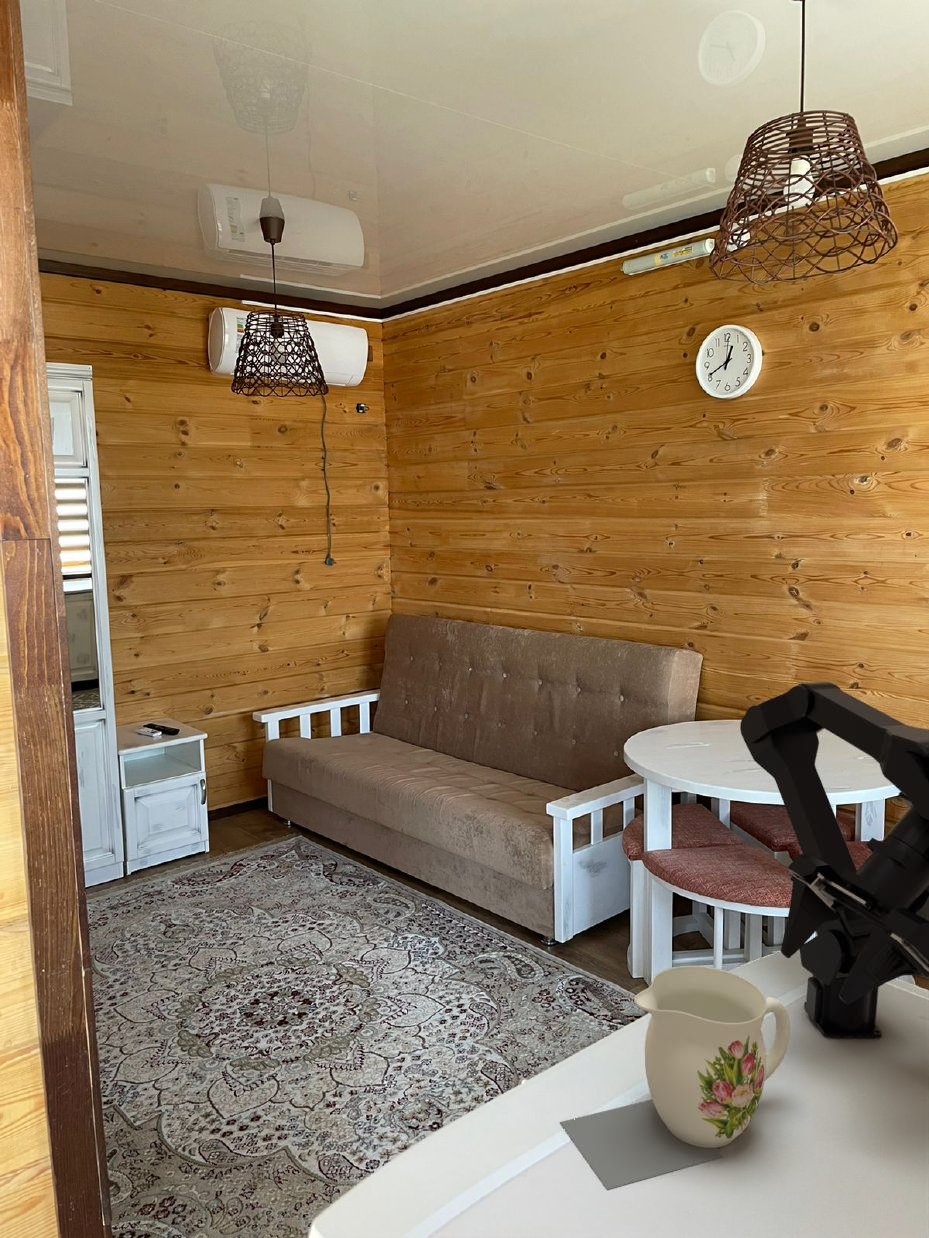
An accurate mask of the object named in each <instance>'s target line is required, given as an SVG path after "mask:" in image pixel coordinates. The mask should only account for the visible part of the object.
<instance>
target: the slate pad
mask: <svg viewBox="0 0 929 1238" xmlns="http://www.w3.org/2000/svg"><path fill="white" fill-rule="evenodd" d="M574 1119H575V1120H574ZM559 1125H560V1126H561V1127H562V1128H563V1130H564V1129H565V1130H564V1131H565V1133H566V1135H567V1136H568V1137H569V1138H570V1140H571V1141H572V1142H573V1144H574V1146H575V1147H576V1149H577V1150H578V1151H579V1153H580V1154H581V1156H582V1157H583V1158H584V1160H585V1161H586V1162H587V1164H588V1165H589V1167H590V1168H591V1170H592V1171H593V1173H594V1174H595V1176H597V1178H598V1180H599V1181H600V1183H601V1184H602V1185H603V1187H604V1188H605V1190H606V1191H610V1190H614V1189H618V1188H621V1187H625V1186H628V1185H630V1184H634V1183H638V1182H641V1181H644V1180H645V1181H646V1180H649V1179H653V1178H656V1177H659V1176H662V1175H663V1176H664V1175H667V1174H670V1173H673V1172H677V1171H681V1170H684V1169H688V1168H691V1167H695V1166H699V1165H701V1164H705V1163H709V1162H712V1161H716V1160H719V1159H722V1158H723V1159H724V1158H725V1155H724V1154H723V1153H722V1151H720V1149H718V1147H717V1148H704V1147H698V1146H694V1145H691V1144H688V1143H686V1142H684V1141H682V1140H680V1139H679V1138H677V1137H676V1136H675V1135H673V1134H672V1133H671V1132H670V1131H669V1129H668V1128H667V1126H666V1124H665V1123H664V1122H663V1120H662V1119H661V1117H660V1116H659V1114H658V1112H657V1110H656V1107H655V1105H654V1103H653V1100H652V1098H651V1099H648V1100H644V1101H640V1102H636V1103H632V1104H628V1105H624V1106H623V1105H622V1106H619V1107H615V1108H612V1109H607V1110H603V1111H600V1112H596V1113H591V1114H587V1115H583V1116H579V1117H574V1118H571V1119H567V1120H562V1121H560V1122H559Z"/></svg>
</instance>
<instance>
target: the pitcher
mask: <svg viewBox="0 0 929 1238" xmlns="http://www.w3.org/2000/svg"><path fill="white" fill-rule="evenodd" d="M633 1002H634V1004H635V1005H636V1006H637V1007H638V1008H640V1009H641V1010H642V1011H646V1012H647V1013H649V1014H650V1015H651V1017H650V1019H649V1022H648V1025H647V1029H646V1033H645V1041H644V1067H645V1074H646V1081H647V1085H648V1089H649V1093H650V1096H651V1099H652V1100H653V1103H654V1105H655V1107H656V1110H657V1112H658V1114H659V1116H660V1117H661V1119H662V1120H663V1122H664V1123H665V1124H666V1126H667V1128H668V1129H669V1131H670V1132H671V1133H672V1134H673V1135H675V1136H676V1137H677V1138H679V1139H680V1140H682V1141H684V1142H686V1143H688V1144H691V1145H694V1146H698V1147H704V1148H717V1149H718V1148H721V1147H724V1146H727V1145H729V1144H730V1143H732V1142H733V1140H735V1139H736V1138H737V1137H738V1136H739V1135H741V1134H742V1133H743V1131H745V1129H746V1128H747V1127H748V1125H749V1124H750V1122H751V1120H752V1119H753V1116H754V1115H755V1112H756V1110H757V1109H758V1106H759V1103H760V1101H761V1099H762V1098H761V1097H762V1094H763V1091H764V1085H765V1082H766V1081H767V1080H768V1079H769V1078H770V1077H772V1075H773V1074H774V1073H775V1071H776V1070H777V1069H778V1068H779V1066H780V1065H781V1063H782V1061H783V1059H784V1058H785V1056H786V1053H787V1051H788V1046H789V1042H790V1035H791V1020H790V1016H789V1012H788V1010H787V1007H786V1006H785V1005H784V1003H783V1002H781V1001H780V1000H778V999H777V998H774V997H769V996H768V997H766V996H765V994H764V992H762V990H761V989H760V988H759V987H758V986H757V985H755V983H753V982H751V981H750V980H748V979H746V978H744V977H743V976H740V975H739V974H737V973H733V972H731V971H728V970H724V969H721V968H717V967H712V966H704V965H679V966H673V967H670V968H667V969H663V970H661V971H659V972H657V973H656V975H654V977H652V981H651V985H650V986H649V987H648V988H645V989H643V990H642V991H639V993H637V994H636V995H635V996H634V998H633ZM769 1013H773V1016H775V1034H774V1040H773V1042H772V1045H771V1047H770V1049H769V1051H768V1052H767V1050H766V1044H765V1040H764V1036H763V1033H762V1025H763V1022H764V1018H765V1016H766V1015H768V1014H769Z"/></svg>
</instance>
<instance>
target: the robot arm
mask: <svg viewBox="0 0 929 1238" xmlns="http://www.w3.org/2000/svg"><path fill="white" fill-rule="evenodd" d="M824 729H825V730H826V731H828V732H830V733H831V734H833V735H834V736H836V737H838V738H839V739H841V740H842V741H845V742H846V743H847V744H849V745H851V746H852V747H855V748H856V749H858V750H860V751H862V753H864V754H865V755H866V754H867V756H869V757H871V758H872V759H874V760H875V761H876V762H877V763H878V764H879V767H880V771H881V774H882V775H883V777H884V778H885V779H886V780H887V781H889V782H890V784H892V785H893V786H894V787H895V788H896V789H898V790H899V793H898V797H899V798H900V799H901V800H902V801H903V803H904V805H906V806H907V808H908V809H907V810H906V811H905V813H904V814H903V815H902V816H901V817H900V819H898V821H897V822H896V823H895V825H894V826H893V827H892V828H891V829H890V831H889V832H888V833H887V834H886V836H884V838H883V839H882V841H880V840H878V839H876V838H874V837H871V838H870V839H869V841H868V842H867V843H866V844H865V845H866V847H867V848H868V849H869V850H870V851H871V853H870V855H869V856H868V857H867V859H866V860H865V861H864V862H863V864H862V865H861V866H860V867H859V868H858V869H857V867H856V864H855V861H854V859H853V856H852V855H851V851H850V849H849V847H848V844H847V842H846V840H845V837H844V834H843V832H842V830H841V826H840V824H839V822H838V820H837V817H836V814H835V812H834V810H833V807H832V804H831V802H830V800H829V798H828V797H829V796H828V795H827V792H826V790H825V788H824V785H823V782H822V779H821V777H820V775H819V772H818V769H817V766H816V760H817V756H818V750H819V746H820V740H819V736H818V733H820V732H821V731H823V730H824ZM739 731H740V733H741V734H740V735H741V736H742V739H743V742H744V743H745V745H746V747H747V750H748V751H749V753H750V755H751V757H752V760H753V761H754V762H755V763H756V764H757V765H759V766H760V768H762V769H763V770H764V771H765V772H766V773H768V774H769V775H770V776H771V777H772V778H773V779H774V782H775V783H776V786H777V789H778V792H779V794H780V796H781V797H780V798H781V799H782V801H783V802H782V803H783V805H784V807H785V810H786V812H787V815H788V818H789V820H790V823H791V826H792V828H793V831H794V834H795V837H796V839H797V842H798V845H799V847H800V850H801V854H797V856H796V857H795V858H794V860H792V862H791V863H790V864H789V865H788V867H787V870H788V871H789V872H790V873H791V876H790V877H789V881H790V882H791V883H792V887H791V888H792V889H791V894H790V902H789V903H790V904H789V911H788V915H787V920H786V923H785V924H786V925H785V930H784V934H783V936H782V937H783V938H782V942H781V947H780V953H781V954H782V955H783V956H784V957H785V958H786V959H790V958H791V957H793V956H794V955H795V954H796V953H797V952H798V951H799V956H800V961H801V962H800V963H801V966H802V967H803V968H804V969H805V970H806V971H808V972H809V973H810V974H811V976H808V978H807V985H806V986H807V989H806V999H805V1002H804V1003H803V1007H804V1009H805V1011H806V1012H807V1014H808V1015H809V1017H810V1018H811V1020H812V1021H813V1023H815V1025H816V1026H817V1028H818V1029H819V1031H820V1032H821V1034H822V1035H823V1036H824V1037H826V1038H856V1039H857V1038H858V1039H859V1038H860V1039H861V1038H867V1039H868V1038H869V1039H870V1038H872V1039H873V1038H874V1039H875V1038H877V1039H880V1038H882V1037H883V1031H882V1030H881V1029H880V1028H879V1026H878V1025H877V1024H876V1021H877V1020H876V1019H877V1009H878V997H879V987H881V986H882V985H884V984H886V983H887V984H888V982H891V981H893V980H895V979H898V978H900V977H904V976H920V977H923V978H925V979H929V729H927V728H919V727H915V726H913V725H912V726H911V725H908V724H906V723H904V722H901V721H899V720H897V719H896V718H894V717H892V716H890V715H888V714H887V713H885V712H882V711H881V710H879V709H877V708H875V707H874V706H871V705H869V704H868V703H865V702H864V701H862V700H860V699H858V698H856V697H854V696H853V695H851V694H849V693H847V692H845V691H843V690H841V688H840V687H839V685H837V684H834V683H833V682H830V681H829V682H828V681H821V682H819V681H818V682H802V683H798V684H797V685H795V686H792V687H791V688H790V689H788V690H787V691H786V692H785V693H782V694H780V695H777V696H775V697H773V698H770V699H768V700H765V701H763V702H761V703H759V704H758V705H752V706H750V707H748V709H747V710H746V711H745V714H744V715H743V717H742V718H741V720H740V730H739ZM815 933H816V936H813V935H814V934H815ZM812 936H813V937H812ZM811 937H812V938H811ZM810 938H811V939H810ZM809 939H810V940H809Z"/></svg>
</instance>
